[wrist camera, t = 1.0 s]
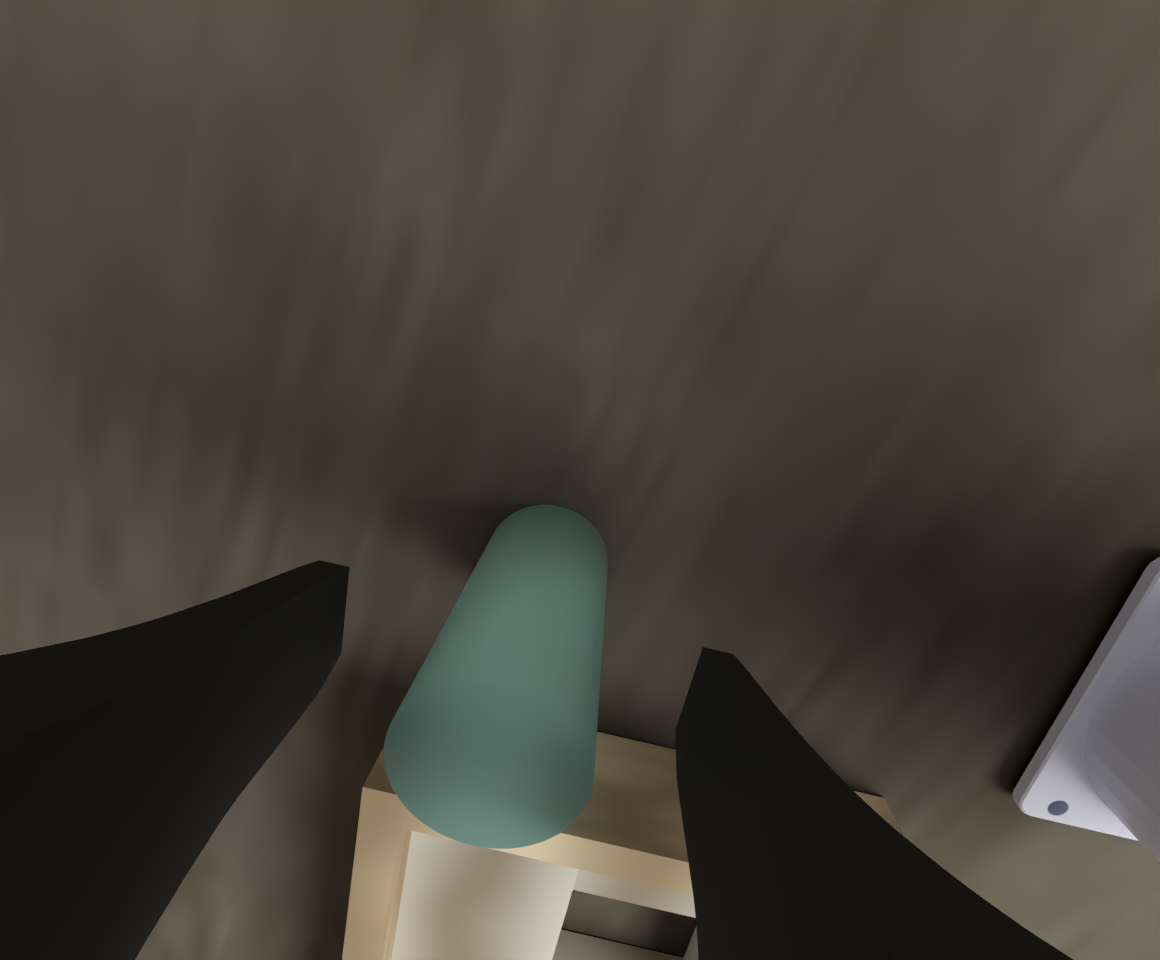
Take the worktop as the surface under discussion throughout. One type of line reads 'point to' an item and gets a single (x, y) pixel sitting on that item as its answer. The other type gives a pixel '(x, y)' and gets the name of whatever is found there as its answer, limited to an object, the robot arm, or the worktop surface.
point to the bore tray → (524, 871)
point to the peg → (510, 690)
